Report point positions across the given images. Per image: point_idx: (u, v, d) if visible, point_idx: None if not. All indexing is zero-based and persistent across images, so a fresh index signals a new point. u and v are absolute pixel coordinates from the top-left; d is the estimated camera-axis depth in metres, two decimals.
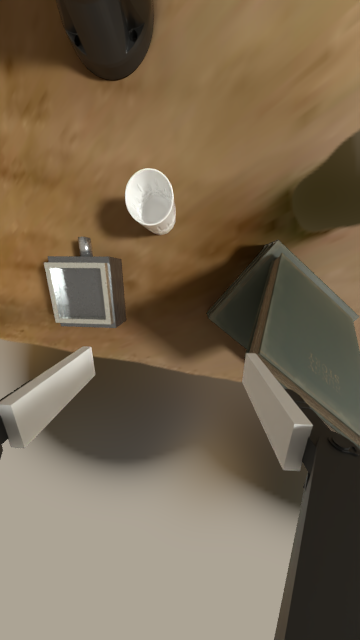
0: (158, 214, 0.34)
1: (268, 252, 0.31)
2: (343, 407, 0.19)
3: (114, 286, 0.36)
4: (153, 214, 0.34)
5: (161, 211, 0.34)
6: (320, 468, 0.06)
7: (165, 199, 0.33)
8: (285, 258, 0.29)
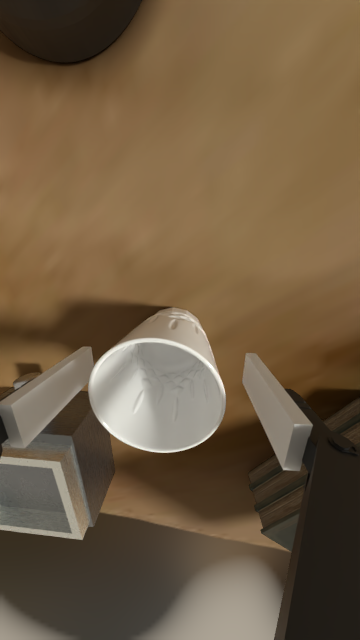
0: None
1: None
2: None
3: (87, 466, 0.19)
4: None
5: None
6: (320, 468, 0.06)
7: None
8: None
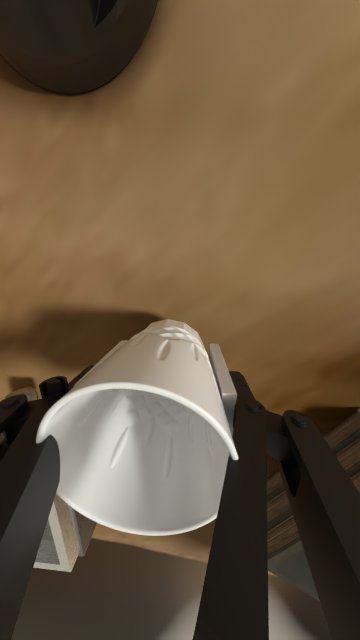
0: None
1: None
2: None
3: None
4: None
5: None
6: (238, 429, 0.07)
7: None
8: None
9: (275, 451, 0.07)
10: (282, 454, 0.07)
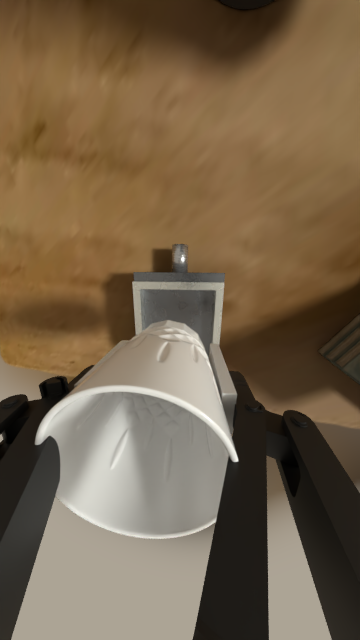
0: None
1: None
2: None
3: None
4: None
5: None
6: (238, 429, 0.07)
7: None
8: None
9: (275, 451, 0.07)
10: (282, 454, 0.07)
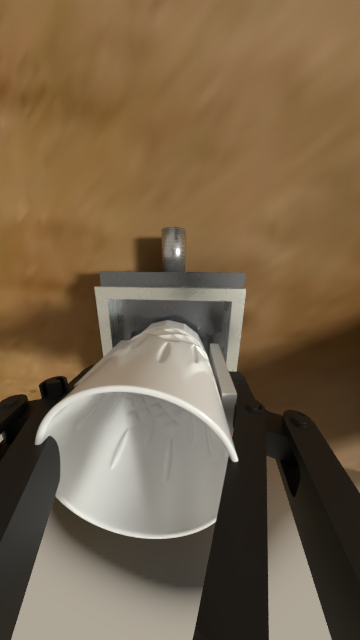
0: None
1: None
2: None
3: None
4: None
5: None
6: (238, 429, 0.07)
7: None
8: None
9: (275, 451, 0.07)
10: (282, 454, 0.07)
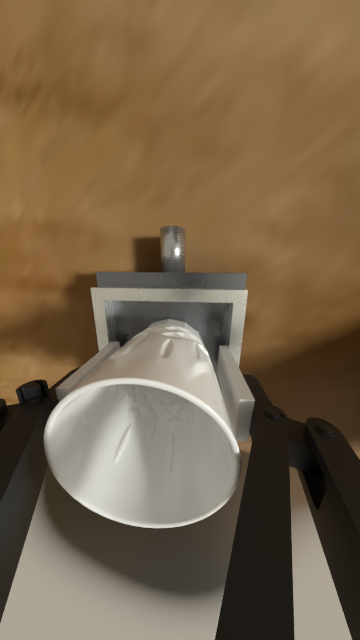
0: None
1: None
2: None
3: None
4: None
5: None
6: (257, 436, 0.07)
7: None
8: None
9: (298, 462, 0.07)
10: (306, 464, 0.07)
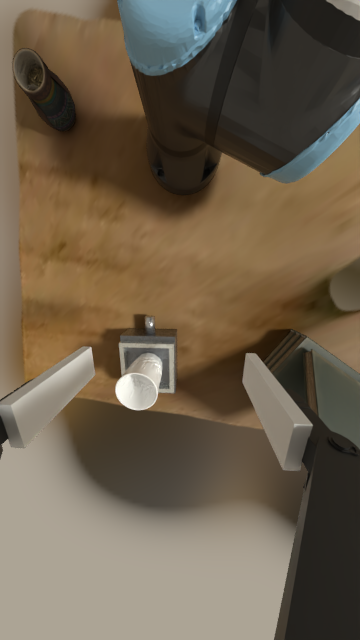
0: None
1: (299, 346, 0.37)
2: None
3: (175, 358, 0.41)
4: None
5: None
6: (320, 468, 0.06)
7: None
8: (315, 354, 0.35)
9: None
10: None
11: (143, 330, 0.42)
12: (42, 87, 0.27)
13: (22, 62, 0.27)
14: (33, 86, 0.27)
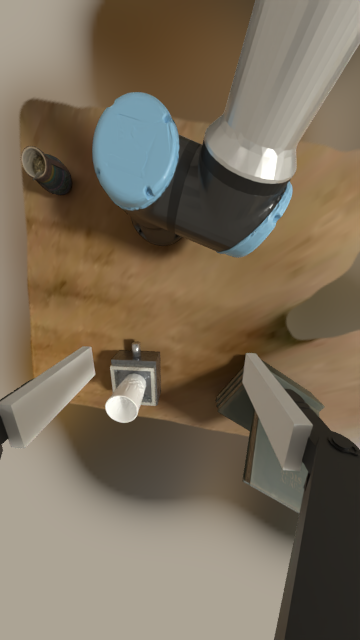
0: None
1: None
2: None
3: (157, 377, 0.49)
4: None
5: None
6: (320, 468, 0.06)
7: None
8: None
9: None
10: None
11: (131, 353, 0.51)
12: (44, 174, 0.35)
13: (28, 154, 0.34)
14: (37, 175, 0.34)
